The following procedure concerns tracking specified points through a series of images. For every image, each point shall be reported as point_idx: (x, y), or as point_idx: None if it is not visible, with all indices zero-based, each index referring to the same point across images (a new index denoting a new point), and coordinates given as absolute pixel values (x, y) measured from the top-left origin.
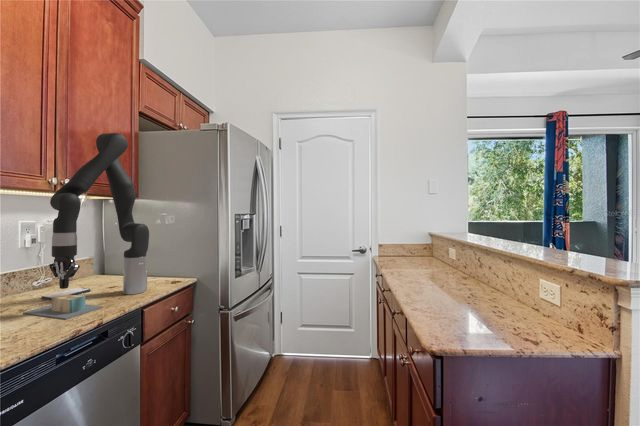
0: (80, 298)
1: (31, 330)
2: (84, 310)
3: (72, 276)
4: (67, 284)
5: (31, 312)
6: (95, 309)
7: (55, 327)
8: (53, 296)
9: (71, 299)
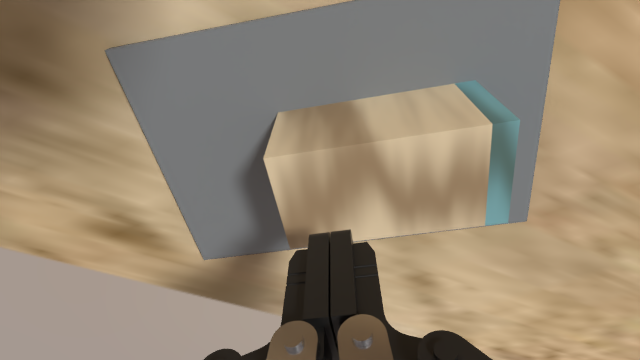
0: (510, 157)
1: (501, 319)
2: (503, 101)
3: (464, 350)
4: (373, 270)
5: (242, 245)
6: (550, 37)
7: (573, 278)
8: None
9: (492, 218)
